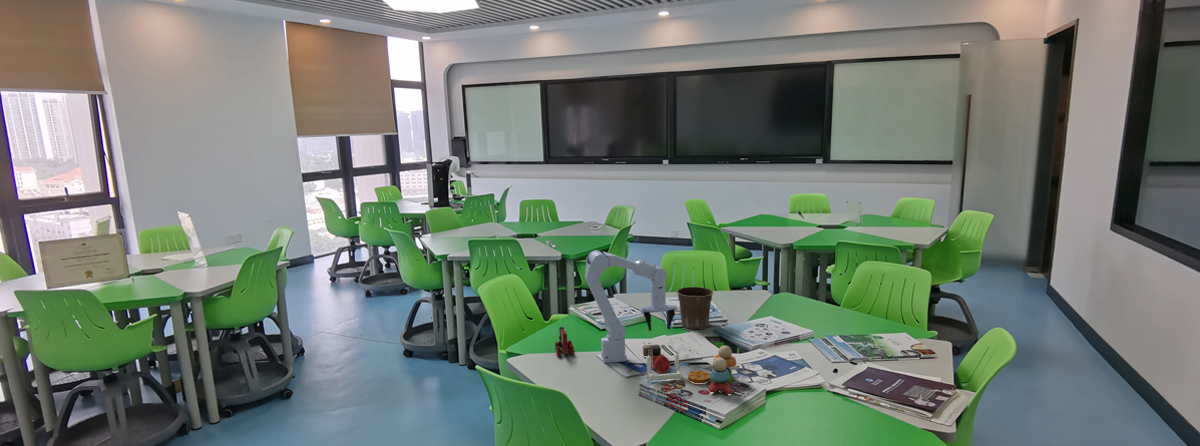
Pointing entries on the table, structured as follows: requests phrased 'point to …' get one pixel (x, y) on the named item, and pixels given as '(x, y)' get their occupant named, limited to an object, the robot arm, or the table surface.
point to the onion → (662, 364)
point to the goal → (663, 376)
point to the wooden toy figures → (717, 372)
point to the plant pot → (695, 306)
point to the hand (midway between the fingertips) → (659, 329)
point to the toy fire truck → (563, 344)
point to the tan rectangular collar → (646, 349)
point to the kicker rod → (654, 353)
